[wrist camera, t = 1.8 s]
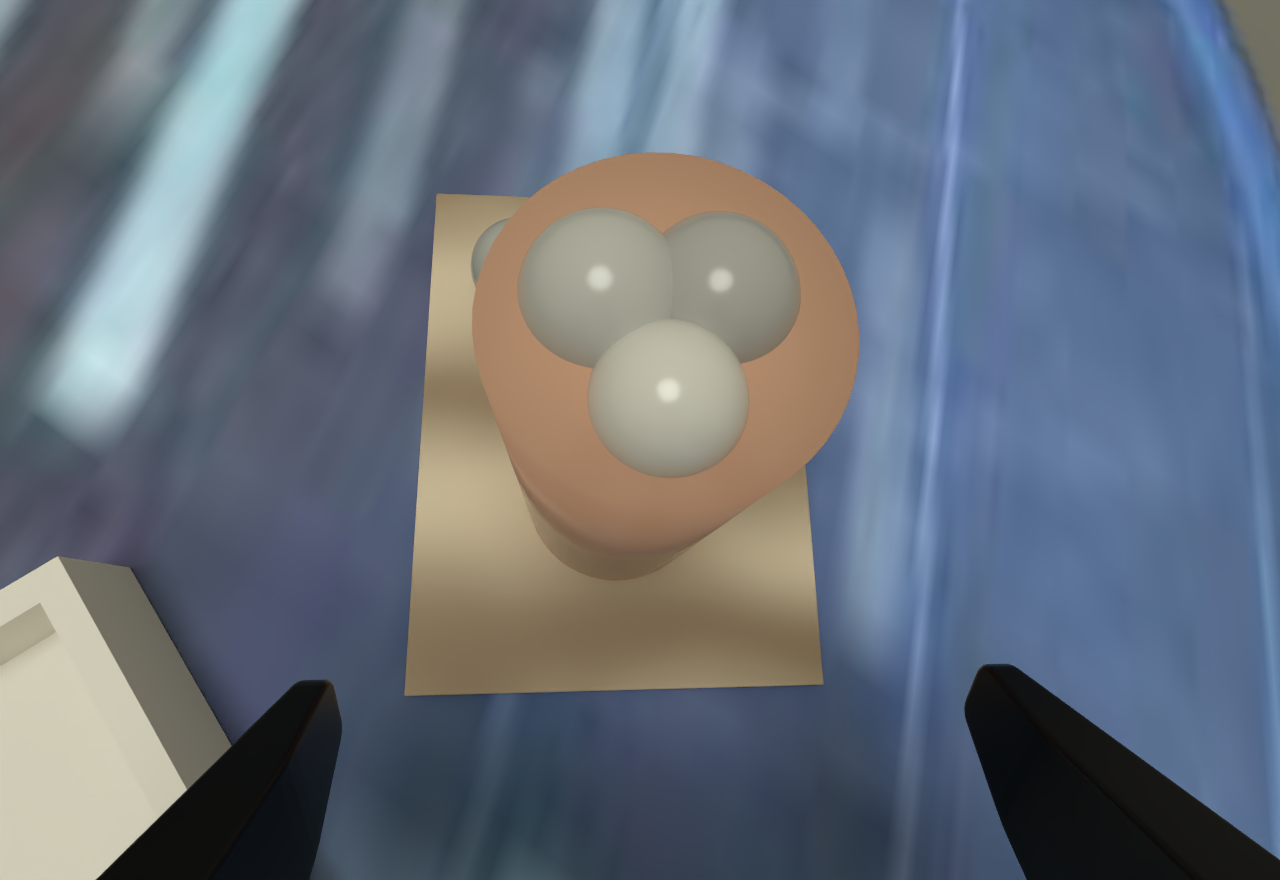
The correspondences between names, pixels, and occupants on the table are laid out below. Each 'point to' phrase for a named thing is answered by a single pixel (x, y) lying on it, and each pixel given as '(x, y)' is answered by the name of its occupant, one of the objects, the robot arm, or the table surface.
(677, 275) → the terracotta jar
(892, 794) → the table surface
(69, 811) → the cream dish
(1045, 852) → the robot arm
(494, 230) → the grey pebble
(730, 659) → the beech board
